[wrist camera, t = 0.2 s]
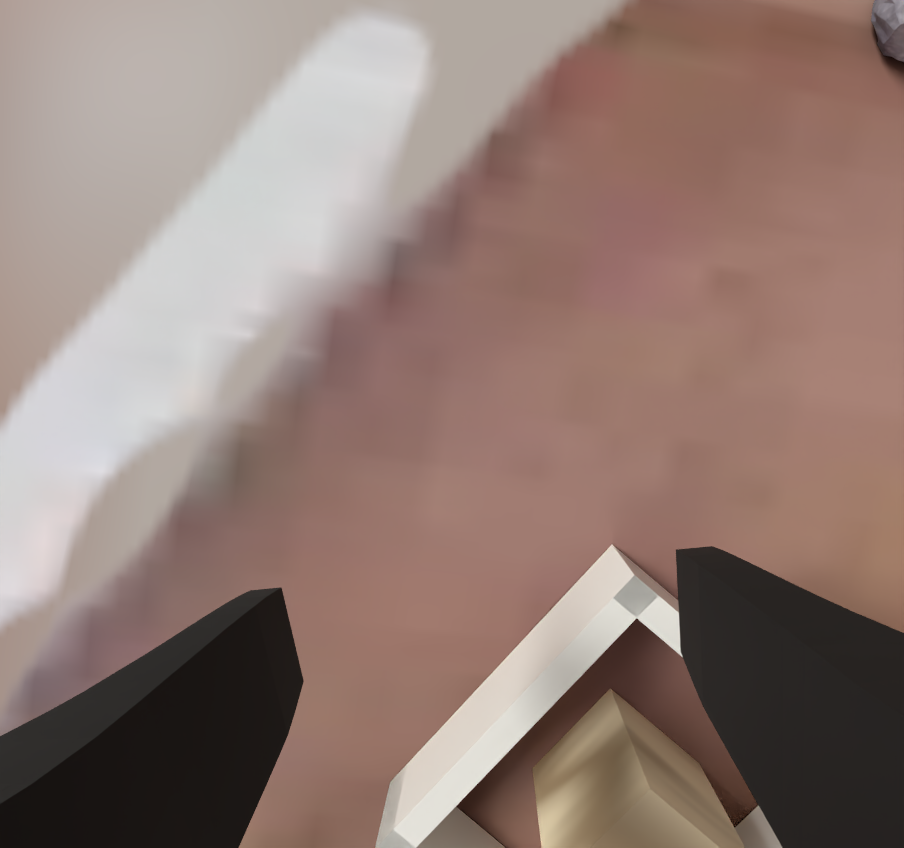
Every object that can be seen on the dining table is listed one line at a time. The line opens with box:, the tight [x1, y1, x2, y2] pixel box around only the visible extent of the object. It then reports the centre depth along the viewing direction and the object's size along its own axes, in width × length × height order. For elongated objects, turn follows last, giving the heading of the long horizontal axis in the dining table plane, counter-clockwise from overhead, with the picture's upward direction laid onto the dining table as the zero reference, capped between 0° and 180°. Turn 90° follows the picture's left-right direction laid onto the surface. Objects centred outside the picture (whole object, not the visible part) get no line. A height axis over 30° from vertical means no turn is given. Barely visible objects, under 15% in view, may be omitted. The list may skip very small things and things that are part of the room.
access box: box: [375, 545, 782, 848], centre depth 19 cm, size 13×12×3 cm
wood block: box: [532, 688, 745, 848], centre depth 18 cm, size 4×4×5 cm
